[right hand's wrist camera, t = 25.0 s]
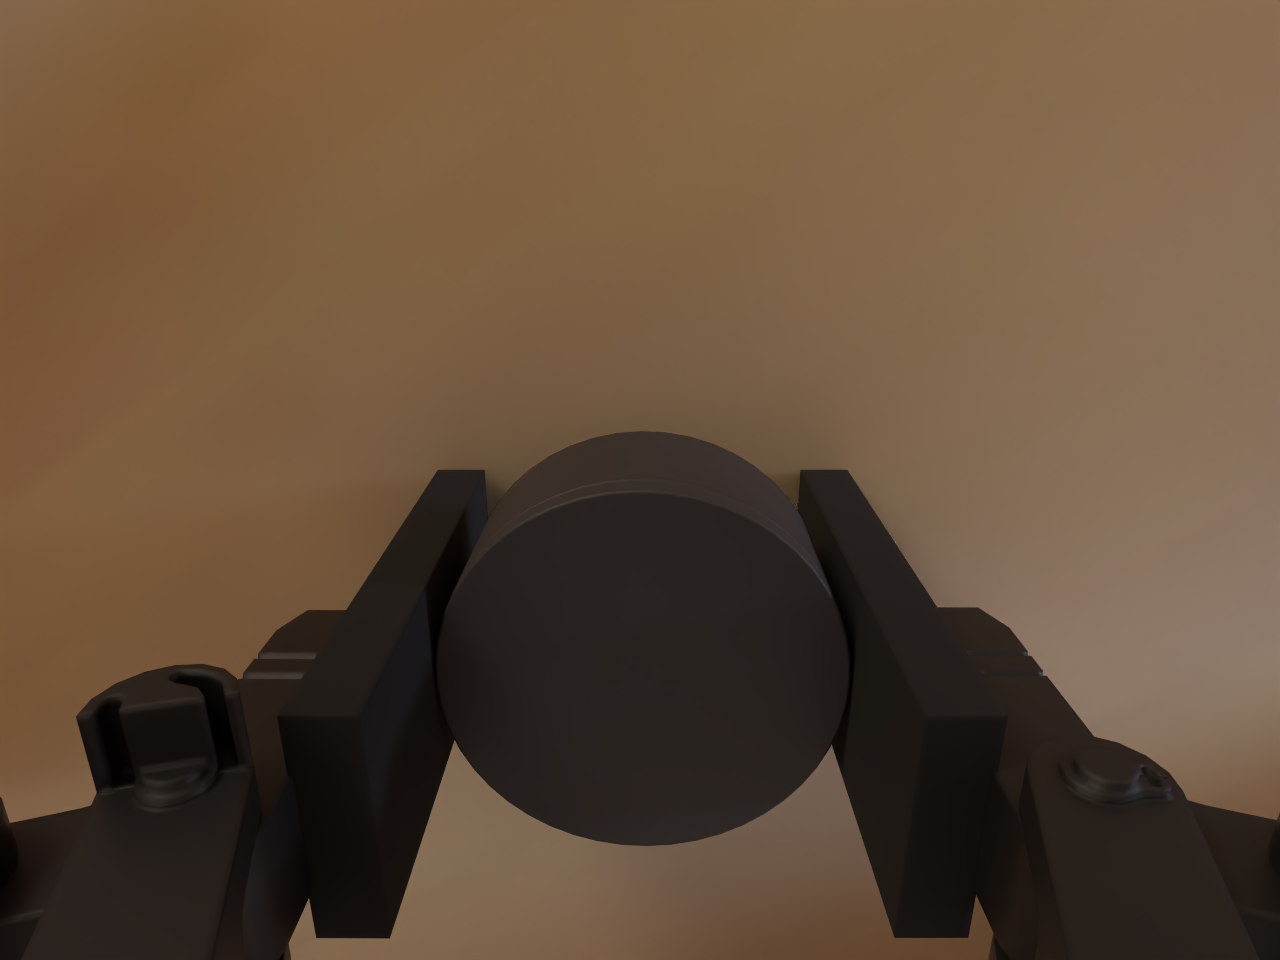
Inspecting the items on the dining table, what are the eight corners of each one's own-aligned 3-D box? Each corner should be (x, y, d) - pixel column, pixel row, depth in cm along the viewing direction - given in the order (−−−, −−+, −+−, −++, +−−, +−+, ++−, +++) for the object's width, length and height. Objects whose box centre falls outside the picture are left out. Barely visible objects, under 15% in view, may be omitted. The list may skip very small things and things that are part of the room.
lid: (850, 451, 12) (891, 515, 10) (788, 755, 14) (811, 866, 12) (478, 410, 12) (438, 466, 10) (466, 722, 14) (429, 826, 11)
